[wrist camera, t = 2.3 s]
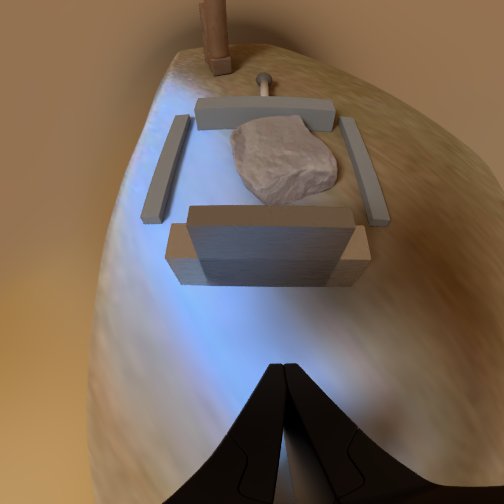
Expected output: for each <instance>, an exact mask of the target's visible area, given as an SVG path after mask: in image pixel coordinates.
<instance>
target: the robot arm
mask: <svg viewBox="0 0 504 504" xmlns="http://www.w3.org/2000/svg"><path fill="white" fill-rule="evenodd" d="M283 433H284V439H285V445H286V450H287V456H288V462H289V467H290V473H291V479H292V484H293V490H294V496H295V501H296V504H504V486H488V487H460V486H443V485H438V484H435V483H432V482H430V481H428V480H426V479H424V478H422V477H421V476H419V475H418V474H416V473H415V472H413V471H412V470H410V469H409V468H407V467H406V466H405V465H403V464H402V463H400V462H399V461H397V460H396V459H395V458H393V457H392V456H391V455H389V454H388V453H387V452H385V451H384V450H383V449H382V448H380V447H379V446H378V445H377V444H376V443H375V442H373V441H372V440H371V439H370V438H369V437H368V436H367V435H366V434H365V433H364V432H363V431H362V430H361V429H360V428H358V426H357V425H356V424H355V423H354V422H353V421H352V420H351V419H350V418H349V417H348V416H347V415H346V414H345V413H344V412H343V411H342V410H341V409H340V408H339V407H338V406H337V405H336V404H335V403H334V402H333V401H332V400H331V399H330V398H329V397H328V396H327V395H326V394H325V393H324V392H323V391H322V389H321V388H320V387H319V386H318V385H317V384H316V383H315V382H314V381H313V380H312V379H311V378H310V377H309V376H308V375H307V374H306V373H305V371H304V370H303V369H302V368H301V367H300V366H299V365H298V364H296V363H286V364H284V365H283V364H269V366H268V367H267V369H266V371H265V373H264V374H263V376H262V378H261V379H260V381H259V383H258V384H257V386H256V388H255V389H254V391H253V393H252V394H251V396H250V398H249V399H248V401H247V403H246V404H245V406H244V407H243V409H242V411H241V412H240V414H239V415H238V417H237V419H236V420H235V422H234V423H233V425H232V426H231V428H230V429H229V431H228V432H227V435H225V437H224V438H223V440H222V441H221V443H220V444H219V446H218V447H217V448H216V450H215V451H214V452H213V454H212V455H211V456H210V457H209V459H208V460H207V461H206V462H205V463H204V464H203V465H202V466H201V467H200V469H199V470H198V471H197V472H196V473H195V474H194V475H193V476H192V477H191V478H190V479H189V480H188V481H187V482H185V483H184V484H183V485H182V486H181V487H180V488H179V489H178V490H177V491H176V492H175V493H174V494H173V495H172V496H171V497H169V498H168V499H167V500H166V501H165V502H163V503H162V504H273V501H274V494H275V488H276V481H277V474H278V467H279V459H280V451H281V443H282V435H283Z"/></svg>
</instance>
